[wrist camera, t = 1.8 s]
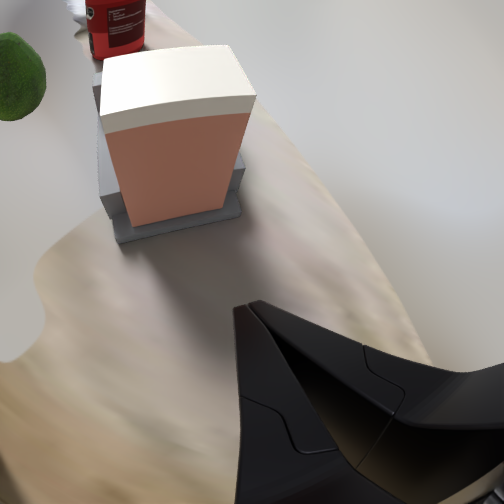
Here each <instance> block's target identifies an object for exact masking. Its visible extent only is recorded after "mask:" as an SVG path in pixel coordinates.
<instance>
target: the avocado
mask: <svg viewBox="0 0 504 504" xmlns="http://www.w3.org/2000/svg"><path fill="white" fill-rule="evenodd" d="M45 90H46V72H45V68H44V65H43V62H42V60H41V57H40V56H39V55H38V54H37V53H36V52H35V50H34V49H33V48H32V47H31V46H30V45H28V43H26V42H25V41H24V40H23V39H22V38H21V37H20V36H19V35H17V34H15V33H12V32H7V33H2V34H0V120H2V121H15V120H19V119H22V118H23V117H25V116H27V115H28V114H30V113H31V112H33V111H34V110H35V109H36V108H37V107H38V105H39V104H40V102H41V100H42V98H43V96H44V93H45Z"/></svg>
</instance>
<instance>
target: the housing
mask: <svg viewBox="0 0 504 504" xmlns="http://www.w3.org/2000/svg"><path fill="white" fill-rule="evenodd" d="M102 75H103V72H99V73H95V74H94V77H93V92H94V97H95V101H96V106H97V111H98V126H97V128H98V131H97V151H98V152H97V154H98V181H99V196H100V199H101V201H102V203H103V206H104V208H105V210H106V212H107V214H108V216H109V219H113V226H114V233H115V239H116V241H117V243H118V244H121V243H125V242H129V241H133V240H137V239H141V238H145V237H150V236H154V235H158V234H163V233H167V232H171V231H176V230H180V229H185V228H189V227H194V226H198V225H203V224H208V223H212V222H217V221H222V220H227V219H231V218H236V217H240V215H241V212H242V210H241V207H240V204H239V201H238V198H237V196H236V193H237V191H238V188H239V185H240V182H241V179H242V177H243V174H244V171H245V165H244V163H243V160H242V157H241V155H240V152H238V156H237V159H236V162H235V166H234V169H233V172H232V176H231V179H230V183H229V186H228V190H227V193H226V197H225V200H224V204H223V207H222V208H220V209H215V210H210V211H205V212H200V213H195V214H190V215H185V216H181V217H176V218H172V219H167V220H163V221H158V222H154V223H149V224H145V225H141V226H137V227H132V224H131V221H130V218H129V215H128V212H127V209H126V206H125V203H124V200H123V197H122V194H121V191H120V187H119V184H118V181H117V178H116V174H115V171H114V167H113V164H112V160H111V157H110V153H109V149H108V145H107V142H106V138H105V134H104V130H103V125H102V121H101V117H100V107H101V88H102Z"/></svg>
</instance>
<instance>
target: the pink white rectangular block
mask: <svg viewBox="0 0 504 504" xmlns="http://www.w3.org/2000/svg"><path fill="white" fill-rule="evenodd" d="M256 96H257V95H256V93H255V91H254V89H253V87H252V85H251V84H250V82H249V80H248V78H247V76H246V75H245V73H244V71H243V69H242V68H241V66H240V64H239V63H238V61H237V59H236V57H235V56H234V54H233V52H232V50H231V49H230V47H229V45H208V46H190V47H177V48H167V49H159V50H151V51H144V52H138V53H132V54H127V55H121V56H116V57H111V58H107V59H104V64H103V75H102V88H101V107H100V117H101V121H102V125H103V130H104V134H105V138H106V142H107V145H108V149H109V153H110V157H111V160H112V164H113V167H114V171H115V174H116V178H117V181H118V184H119V187H120V191H121V194H122V197H123V200H124V203H125V206H126V209H127V212H128V215H129V218H130V221H131V224H132V227H137V226H141V225H145V224H149V223H154V222H158V221H163V220H167V219H172V218H176V217H181V216H185V215H190V214H195V213H200V212H205V211H210V210H215V209H220V208H222V207H223V204H224V200H225V197H226V193H227V190H228V186H229V183H230V179H231V176H232V172H233V169H234V166H235V162H236V159H237V156H238V152H239V149H240V146H241V143H242V139H243V136H244V133H245V130H246V126H247V123H248V120H249V117H250V114H251V111H252V108H253V105H254V102H255V99H256Z"/></svg>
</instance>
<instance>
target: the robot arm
mask: <svg viewBox="0 0 504 504" xmlns="http://www.w3.org/2000/svg"><path fill="white" fill-rule="evenodd" d="M233 325H234V340H235V355H236V369H237V382H238V395H239V409H240V448H239V460H238V471H237V482H236V493H235V502H234V504H504V363H501V364H498V365H495V366H492V367H488V368H485V369H482V370H478V371H473V372H453V371H448V370H444V369H440V368H436V367H432V366H428V365H425V364H421V363H417V362H413V361H410V360H406V359H403V358H400V357H397V356H393V355H391V354H388V353H385V352H382V351H380V350H377V349H374V348H372V347H369V346H367V345H362V343H359V342H357V341H354V340H352V339H350V338H347V337H345V336H342V335H340V334H338V333H335V332H333V331H330V330H328V329H326V328H323V327H321V326H319V325H316V324H314V323H312V322H309V321H307V320H305V319H303V318H300V317H298V316H296V315H293V314H291V313H289V312H287V311H284V310H282V309H280V308H278V307H275V306H273V305H271V304H269V303H267V302H264V301H262V300H257V301H254V302H251V303H248V304H247V305H245V304H244V305H241V306H237V307H234V308H233Z"/></svg>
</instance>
